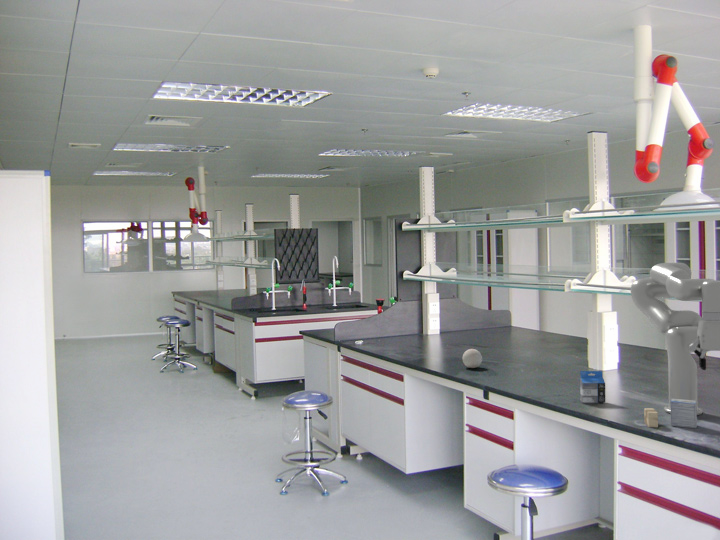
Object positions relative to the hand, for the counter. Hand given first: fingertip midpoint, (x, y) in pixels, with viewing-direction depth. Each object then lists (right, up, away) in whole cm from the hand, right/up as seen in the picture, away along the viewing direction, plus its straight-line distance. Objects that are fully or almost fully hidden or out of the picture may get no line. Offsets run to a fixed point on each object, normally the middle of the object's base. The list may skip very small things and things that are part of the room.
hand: (714, 369), depth 218 cm
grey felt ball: (-62, -18, +117) cm, 134 cm away
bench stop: (-20, -20, +5) cm, 28 cm away
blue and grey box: (-28, -19, +38) cm, 51 cm away
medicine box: (-9, -20, +3) cm, 22 cm away
